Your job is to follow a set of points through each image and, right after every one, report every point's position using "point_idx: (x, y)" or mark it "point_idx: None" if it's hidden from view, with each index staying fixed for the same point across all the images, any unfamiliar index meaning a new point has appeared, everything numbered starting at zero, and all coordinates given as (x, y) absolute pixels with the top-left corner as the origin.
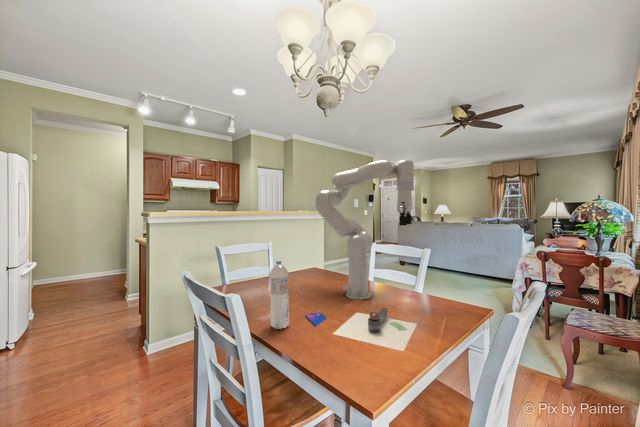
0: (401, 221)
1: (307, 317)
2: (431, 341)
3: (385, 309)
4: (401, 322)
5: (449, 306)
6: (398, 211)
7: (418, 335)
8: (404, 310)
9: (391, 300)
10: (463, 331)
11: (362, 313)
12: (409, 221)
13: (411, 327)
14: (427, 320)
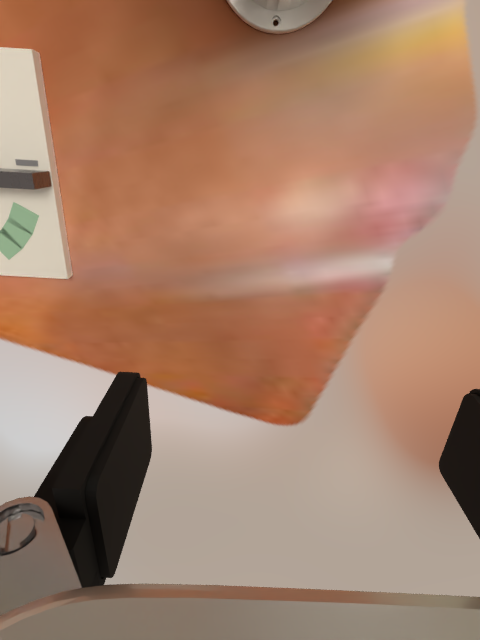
0: (75, 440)
1: None
2: (18, 313)
3: (16, 187)
4: (48, 235)
5: (288, 343)
6: (18, 619)
7: (29, 283)
8: (188, 218)
9: (277, 147)
10: (118, 372)
11: (35, 79)
12: (462, 484)
13: (33, 267)
14: (140, 294)
